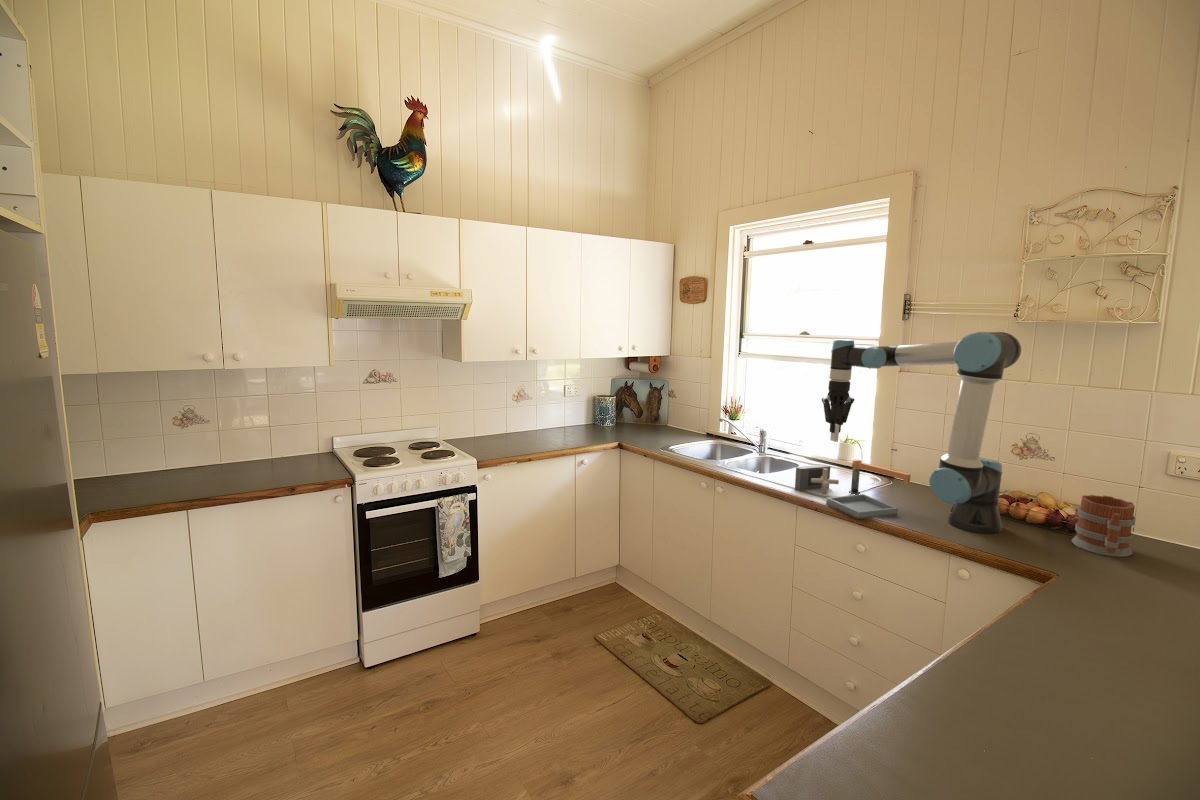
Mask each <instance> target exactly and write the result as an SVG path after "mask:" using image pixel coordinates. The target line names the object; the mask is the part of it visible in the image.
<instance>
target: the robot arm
mask: <svg viewBox="0 0 1200 800" xmlns="http://www.w3.org/2000/svg"><path fill="white" fill-rule="evenodd" d="M830 353H831V356H830V368H829V379H830V380H828V388H827V389H828V393H827V395H826V396H825V397H822V398H821V402H822V404H823V410H824V411H823V413H824V420H825V422H826V423H827V424H829V433H830V438H829V439H830V441H832V442H834V443H835V442H839V437H840V436H839V434H840V433H841V428H842V426H843V425H844V424H845V423H847V421H848V417H849V415H850V411H851V408H852V406H853V403H854V402H855V398H853V397H851V396H850V392H849V391H851V390H850V389H851V382H850V380H852V370H853V367H860V368H867V369H875V370H876V369H881V368H882V367H902V366H904V367H905V366H931V365H932V366H933V365H940V366H941V365H956V366H957V372H956V375H957V376H958V377H959V378H960V386H959V391H958V396H957V400H956V406H955V411H954V416H953V421H952V426H951V431H950V436H949V441H948V446H947V452H946V453H945V454H943V455H941V456H940V459H939V463H938V464H939V465H938V468H937V469H935V470H933V472H932V473H931V474H930V476H929V480H928V481H929V482H928V483H929V487H930V490H931V491H932V493H933V494H934V496H935V497H936V498H938V499H939V500H940V501H942V502H944V503H946V504H951V505H952V507H951V508H950V511H949V513H948V517H947V522H948V523H949V524H950V525H952V526H953V527H956V528H959V529H962V530H964V531H969V532H973V533H978V534H979V533H981V534H997V533H1000V532H1002V529H1003V528H1002V527H1003V522H1002V519H1001V515H1000V510H999V497H1000V489H1001V482H1002V474H1003V471H1002V470H1003V466H1002V463H1001V462H999V461H997V460H994V459H989V458H985V457H980V454H981V449H982V444H983V439H984V436H985V430H986V425H987V421H988V416H989V413H990V412H989V411H990V407H991V403H992V397H993V394H994V393H993V392H994V387H995V384H996V383H998V382H1000V381H1001V380H1002V379H1003V375H1004V369H1007V368H1009V367H1010V368H1011V367H1012V366H1013V365H1014V364H1016V362H1017V361H1018V360H1019V359H1020V357H1021V353H1022V346H1021V343H1020V341H1019V340H1018V338H1016V337H1015V336H1014V335H1012V334H1010V333H1008V332H1004V331H996V332H995V331H977V332H975V333H974V332H973V333H970V334H967V335H965V336H963V337H962V338H961V339H960V340H959V341H947V342H945V341H944V342H932V343H931V342H930V343H929V342H928V343H916V344H915V343H914V344H899V345H883V346H880V345H879V346H865V345H864V346H863V345H861V346H860V345H855V341H854V340H853V339H843V338H838V339H837V338H836V339H834V340H833V341H832V346H831V351H830Z"/></svg>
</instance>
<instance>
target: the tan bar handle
mask: <svg viewBox="0 0 1200 800" xmlns="http://www.w3.org/2000/svg"><path fill="white" fill-rule="evenodd" d="M851 462H852V463H851V468H852V469H853V468H854V469H860V470H865V471H870V472H873V473H876V474H881V475H885V476H887V477H888V476H889V477H893V478H896V479H899V480H903V485H906V486H907V485H911V484H910V483H911V477H912V476H911V474H910V473H908V472H907V473H906V472H903V471H898V470H895V469H891V468H890V469H889V468H886V467H882V466H879V465H874V464H870V463H866V462H862V460H860V459H852V461H851Z"/></svg>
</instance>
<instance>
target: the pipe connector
mask: <svg viewBox="0 0 1200 800" xmlns="http://www.w3.org/2000/svg"><path fill="white" fill-rule="evenodd" d="M827 477H828V469H826V468H823V476H821V477H820V479H818V478H811V483H822V489H821V490H820V491H821V492H820V493H822V494H821V495H827V490H828V488H827V487H829V488H830V485H839V482H840V481H839V479H835V478H833V479H832V478H830V479H827Z"/></svg>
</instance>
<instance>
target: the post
mask: <svg viewBox="0 0 1200 800" xmlns="http://www.w3.org/2000/svg"><path fill="white" fill-rule="evenodd" d="M860 471H861V469H854V468H852V472H851V473H852V474H851V475H852V476H851V485H850V490H849V491H848V494H849V493H851V494H855V495H859V494H861V492H860V491H859V484H860V473H861V472H860ZM851 494H850V495H851Z"/></svg>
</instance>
